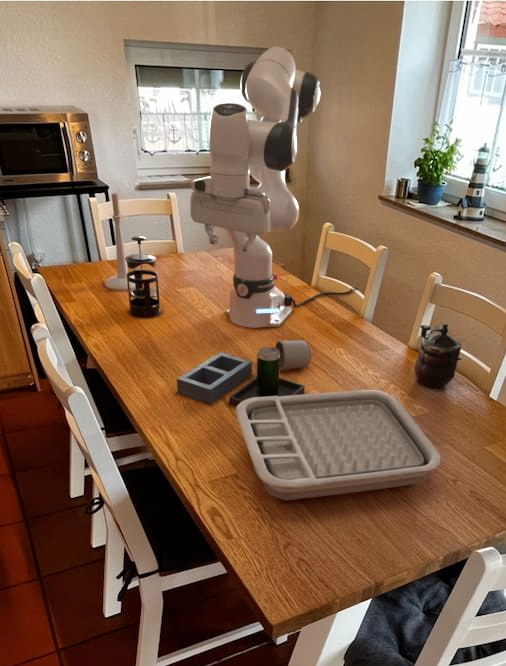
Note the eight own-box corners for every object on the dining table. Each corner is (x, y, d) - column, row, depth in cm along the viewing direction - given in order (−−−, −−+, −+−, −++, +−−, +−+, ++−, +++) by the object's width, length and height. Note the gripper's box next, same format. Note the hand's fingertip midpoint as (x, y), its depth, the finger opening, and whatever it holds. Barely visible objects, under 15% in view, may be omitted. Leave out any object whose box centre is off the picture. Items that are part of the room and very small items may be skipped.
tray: (262, 379, 151) (262, 372, 150) (304, 393, 147) (304, 385, 146) (229, 404, 139) (229, 396, 138) (273, 419, 135) (273, 411, 134)
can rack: (220, 365, 156) (220, 351, 154) (251, 375, 153) (252, 361, 150) (177, 393, 142) (176, 378, 140) (210, 404, 139) (210, 389, 137)
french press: (165, 316, 181) (160, 241, 169) (134, 320, 177) (127, 243, 164) (154, 303, 189) (148, 230, 177) (124, 306, 185) (117, 232, 173)
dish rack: (445, 497, 115) (453, 464, 111) (261, 523, 105) (262, 488, 101) (383, 414, 140) (388, 385, 136) (231, 429, 130) (230, 398, 126)
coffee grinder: (395, 385, 154) (406, 320, 144) (422, 367, 164) (433, 305, 154) (439, 402, 147) (453, 336, 138) (463, 382, 158) (478, 319, 148)
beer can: (263, 404, 139) (264, 358, 133) (252, 394, 143) (253, 349, 137) (282, 399, 142) (284, 353, 136) (271, 389, 146) (273, 345, 139)
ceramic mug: (312, 371, 157) (314, 344, 153) (283, 375, 154) (284, 348, 150) (296, 354, 165) (297, 329, 161) (269, 358, 162) (270, 332, 158)
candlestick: (96, 283, 201) (84, 191, 185) (126, 275, 210) (117, 186, 194) (121, 293, 195) (111, 198, 179) (151, 284, 204) (144, 193, 188)
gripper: (276, 191, 131) (274, 253, 139) (201, 177, 139) (203, 237, 146) (261, 195, 127) (260, 259, 134) (185, 181, 134) (187, 242, 141)
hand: (230, 247), depth 140 cm, fingers open, 8 cm apart
